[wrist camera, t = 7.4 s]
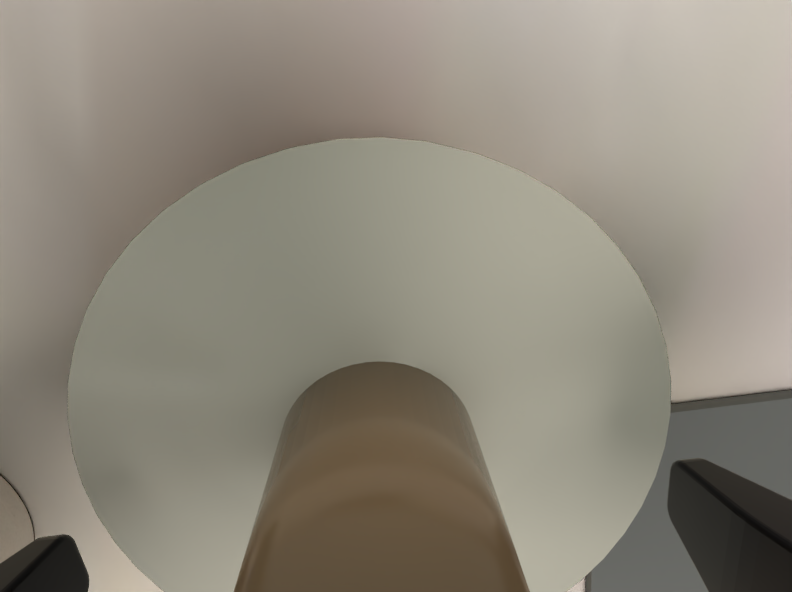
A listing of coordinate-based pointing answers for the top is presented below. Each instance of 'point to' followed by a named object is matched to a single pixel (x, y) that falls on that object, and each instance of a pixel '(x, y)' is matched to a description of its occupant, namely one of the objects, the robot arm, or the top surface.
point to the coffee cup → (13, 522)
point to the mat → (718, 443)
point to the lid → (369, 380)
